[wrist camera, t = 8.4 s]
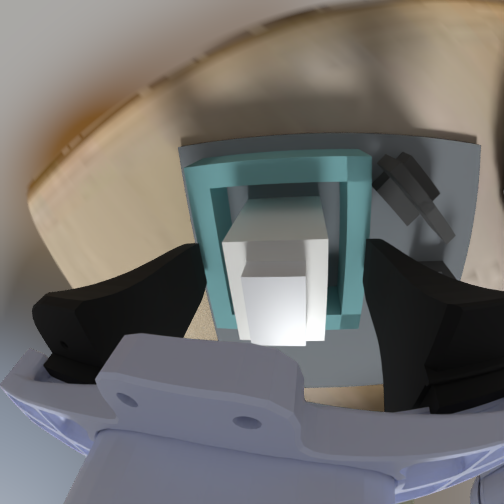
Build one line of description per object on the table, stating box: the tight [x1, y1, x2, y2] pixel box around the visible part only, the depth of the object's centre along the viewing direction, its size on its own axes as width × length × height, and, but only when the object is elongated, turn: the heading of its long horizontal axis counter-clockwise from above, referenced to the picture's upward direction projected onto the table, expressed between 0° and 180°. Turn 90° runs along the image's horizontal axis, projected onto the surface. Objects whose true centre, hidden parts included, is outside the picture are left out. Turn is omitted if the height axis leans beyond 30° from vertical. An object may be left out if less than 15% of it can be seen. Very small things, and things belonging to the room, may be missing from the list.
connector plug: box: [222, 196, 328, 346], centre depth 12 cm, size 4×4×6 cm
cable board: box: [178, 133, 481, 388], centre depth 14 cm, size 16×18×4 cm
